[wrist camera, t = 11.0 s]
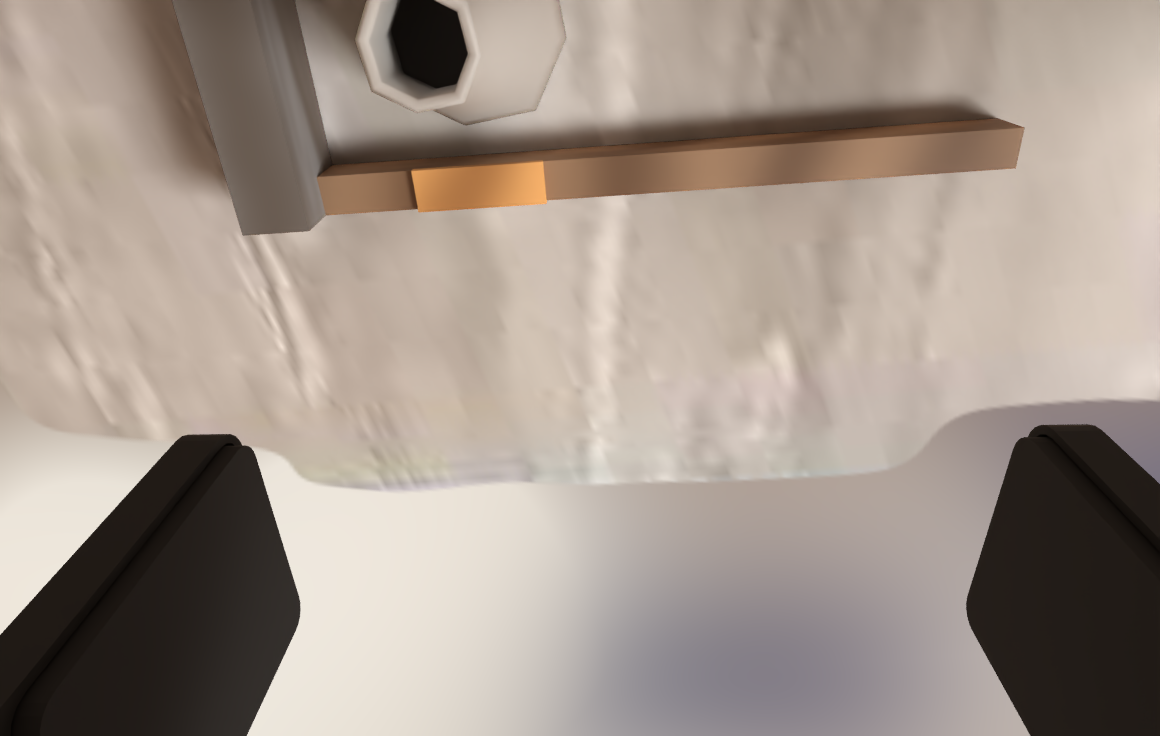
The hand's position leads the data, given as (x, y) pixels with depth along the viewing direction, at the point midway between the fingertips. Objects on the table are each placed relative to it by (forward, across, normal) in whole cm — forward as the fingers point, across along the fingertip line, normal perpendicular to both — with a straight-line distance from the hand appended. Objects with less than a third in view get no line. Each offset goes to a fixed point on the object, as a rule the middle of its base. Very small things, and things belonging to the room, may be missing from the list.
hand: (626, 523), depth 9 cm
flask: (+23, +5, -4) cm, 24 cm away
